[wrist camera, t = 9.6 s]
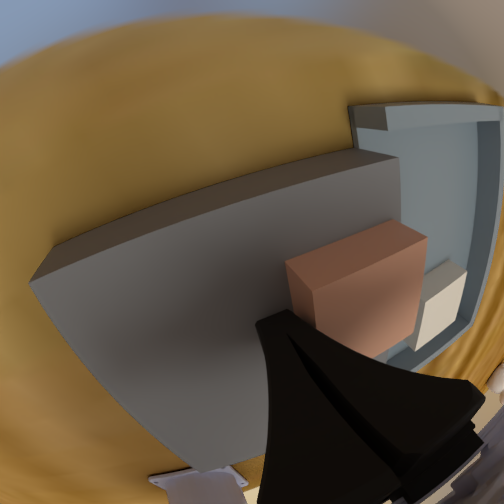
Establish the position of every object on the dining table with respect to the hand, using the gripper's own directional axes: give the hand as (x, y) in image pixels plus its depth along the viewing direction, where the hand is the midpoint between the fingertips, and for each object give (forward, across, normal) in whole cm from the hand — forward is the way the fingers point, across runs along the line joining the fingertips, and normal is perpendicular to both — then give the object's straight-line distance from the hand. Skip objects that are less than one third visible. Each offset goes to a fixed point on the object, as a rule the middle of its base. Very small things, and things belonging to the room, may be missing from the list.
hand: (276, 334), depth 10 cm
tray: (+4, -13, +3) cm, 14 cm away
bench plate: (+4, 0, +4) cm, 5 cm away
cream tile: (+1, -12, +7) cm, 14 cm away
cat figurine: (+4, -64, +66) cm, 92 cm away
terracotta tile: (+1, -4, 0) cm, 4 cm away
